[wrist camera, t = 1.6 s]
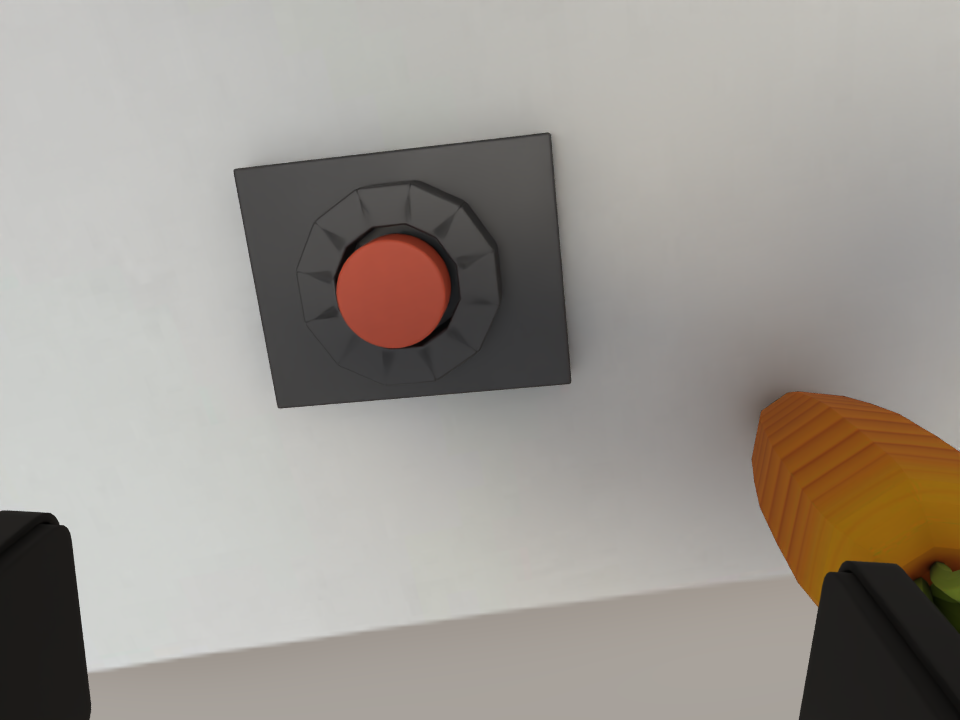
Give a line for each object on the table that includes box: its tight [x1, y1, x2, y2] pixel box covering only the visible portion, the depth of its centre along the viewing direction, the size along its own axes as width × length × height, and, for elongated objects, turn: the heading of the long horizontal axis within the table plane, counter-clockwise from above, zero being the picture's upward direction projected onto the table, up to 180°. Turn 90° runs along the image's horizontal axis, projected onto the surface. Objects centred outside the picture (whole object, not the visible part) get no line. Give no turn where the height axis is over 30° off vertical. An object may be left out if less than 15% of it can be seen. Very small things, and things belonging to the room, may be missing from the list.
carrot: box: [752, 391, 960, 634], centre depth 20 cm, size 5×5×15 cm
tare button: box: [336, 234, 451, 348], centre depth 23 cm, size 3×3×2 cm
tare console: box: [234, 133, 571, 408], centre depth 25 cm, size 10×8×3 cm
